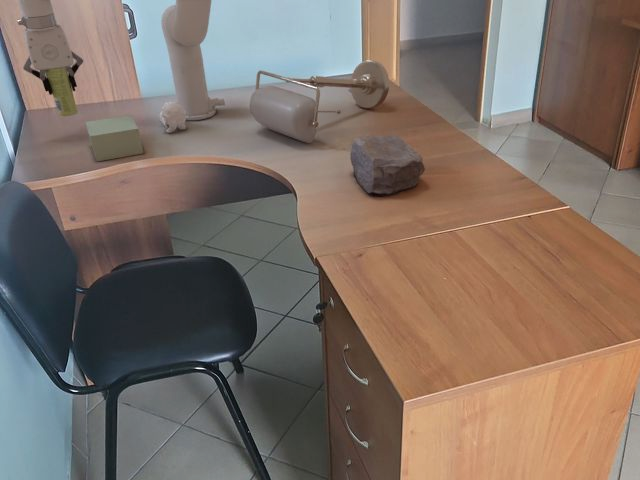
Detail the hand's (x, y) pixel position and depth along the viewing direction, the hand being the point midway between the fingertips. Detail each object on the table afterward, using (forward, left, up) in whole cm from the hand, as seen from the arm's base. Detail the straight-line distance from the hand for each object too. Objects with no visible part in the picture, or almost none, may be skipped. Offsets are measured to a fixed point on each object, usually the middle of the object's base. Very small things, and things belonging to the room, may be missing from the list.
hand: (62, 91), depth 163 cm
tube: (0, 0, -7) cm, 7 cm away
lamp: (-70, +23, -13) cm, 74 cm away
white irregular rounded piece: (-26, +6, -13) cm, 30 cm away
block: (-9, +16, -13) cm, 23 cm away
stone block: (-66, +68, -13) cm, 95 cm away
